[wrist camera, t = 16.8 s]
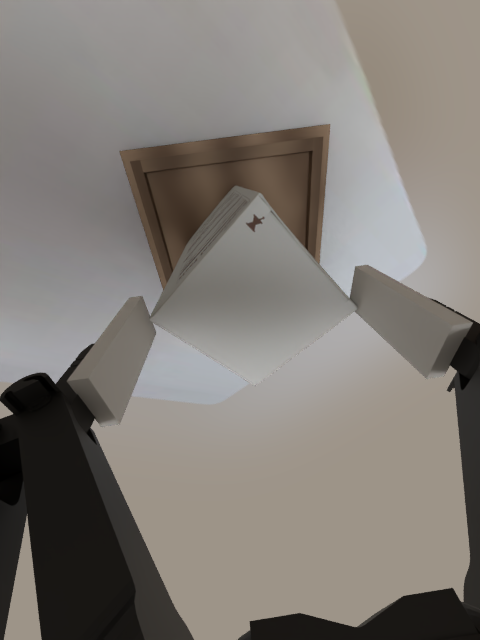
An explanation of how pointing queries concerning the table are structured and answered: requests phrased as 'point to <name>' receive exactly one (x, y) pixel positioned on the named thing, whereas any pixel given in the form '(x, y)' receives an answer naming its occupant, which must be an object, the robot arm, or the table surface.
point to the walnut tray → (228, 185)
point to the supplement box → (249, 290)
